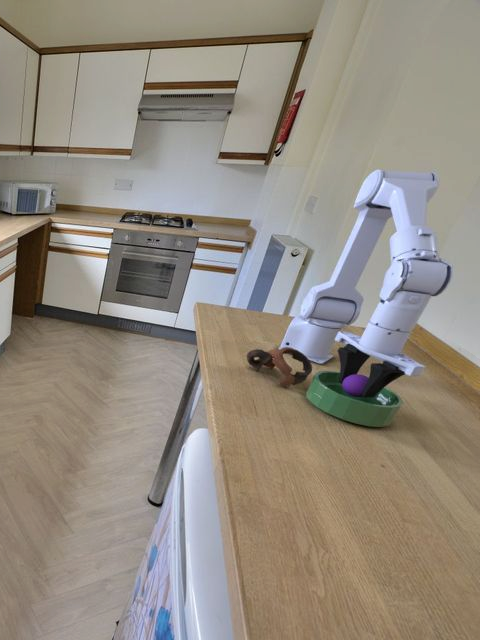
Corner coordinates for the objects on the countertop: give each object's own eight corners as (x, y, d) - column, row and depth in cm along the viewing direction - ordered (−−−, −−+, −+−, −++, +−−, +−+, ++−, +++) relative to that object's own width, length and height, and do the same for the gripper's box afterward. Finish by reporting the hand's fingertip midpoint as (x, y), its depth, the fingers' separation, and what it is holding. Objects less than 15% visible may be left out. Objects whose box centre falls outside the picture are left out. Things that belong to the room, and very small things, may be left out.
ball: (332, 389, 82) (342, 370, 80) (352, 389, 83) (362, 369, 81) (353, 402, 78) (364, 381, 76) (373, 401, 79) (385, 381, 77)
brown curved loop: (282, 369, 97) (312, 351, 90) (288, 402, 92) (320, 385, 85) (234, 351, 98) (260, 331, 91) (236, 383, 92) (264, 365, 85)
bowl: (294, 402, 83) (304, 381, 81) (318, 385, 90) (328, 365, 88) (378, 438, 74) (392, 415, 71) (398, 415, 80) (411, 394, 78)
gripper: (455, 343, 68) (413, 410, 74) (370, 311, 81) (340, 370, 87) (418, 343, 67) (379, 411, 73) (338, 311, 80) (310, 371, 86)
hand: (355, 389), depth 80 cm, fingers closed on ball, 4 cm apart
